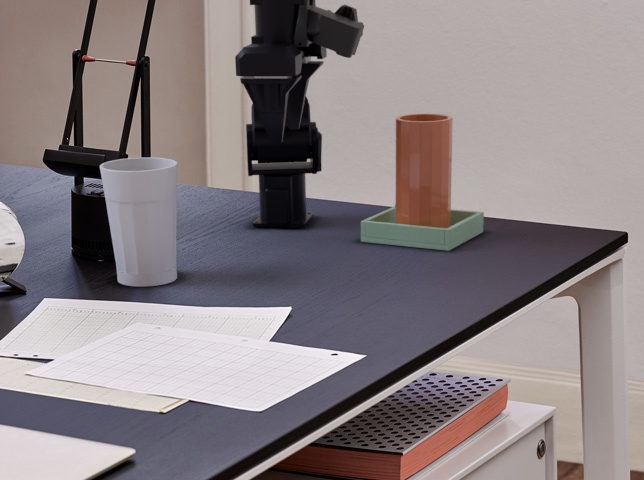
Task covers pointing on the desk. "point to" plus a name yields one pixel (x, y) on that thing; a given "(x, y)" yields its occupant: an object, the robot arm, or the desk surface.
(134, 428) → the desk surface
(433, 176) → the tumbler
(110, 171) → the cup
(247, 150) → the robot arm
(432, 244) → the tray
